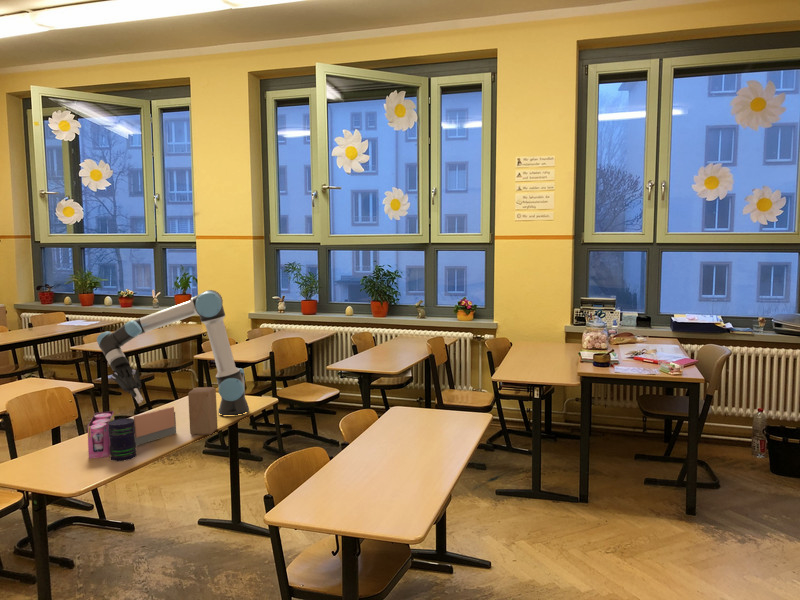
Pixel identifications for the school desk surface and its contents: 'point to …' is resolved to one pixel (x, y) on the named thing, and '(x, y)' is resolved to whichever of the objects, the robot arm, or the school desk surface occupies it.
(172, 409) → the panel
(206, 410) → the wooden block
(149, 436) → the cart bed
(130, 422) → the storage jar
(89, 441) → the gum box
